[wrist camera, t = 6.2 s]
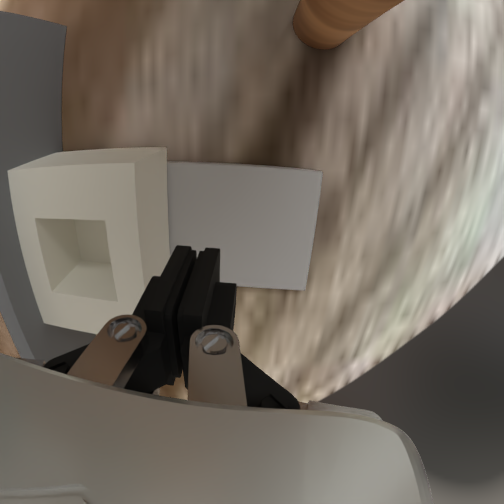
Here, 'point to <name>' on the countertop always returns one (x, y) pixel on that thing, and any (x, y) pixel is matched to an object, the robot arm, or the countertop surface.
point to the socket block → (92, 231)
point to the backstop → (178, 192)
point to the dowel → (335, 19)
